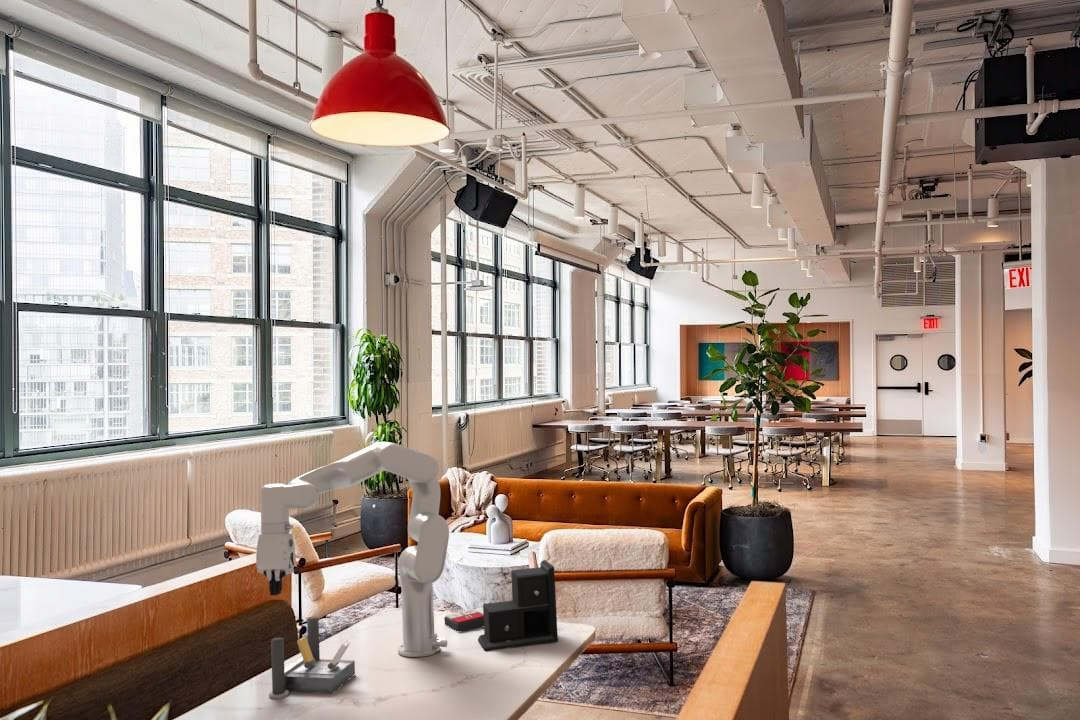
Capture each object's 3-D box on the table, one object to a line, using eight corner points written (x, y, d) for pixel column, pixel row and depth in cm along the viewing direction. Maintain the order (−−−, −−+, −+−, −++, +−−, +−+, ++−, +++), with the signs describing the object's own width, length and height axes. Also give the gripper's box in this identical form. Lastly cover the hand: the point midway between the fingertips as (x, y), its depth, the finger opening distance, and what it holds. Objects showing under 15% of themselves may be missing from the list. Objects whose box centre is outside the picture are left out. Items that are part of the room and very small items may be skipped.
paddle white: (337, 665, 235) (351, 643, 234) (331, 670, 232) (345, 647, 231) (332, 662, 235) (346, 639, 235) (326, 666, 232) (341, 643, 231)
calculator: (443, 614, 286) (483, 604, 294) (444, 627, 286) (484, 617, 294) (457, 622, 276) (498, 611, 284) (458, 635, 276) (499, 624, 284)
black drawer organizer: (484, 651, 256) (481, 573, 257) (477, 641, 267) (475, 566, 267) (558, 643, 262) (555, 566, 263) (549, 633, 273) (546, 559, 273)
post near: (292, 692, 228) (290, 636, 228) (282, 699, 223) (281, 642, 223) (275, 691, 229) (273, 636, 229) (265, 698, 224) (263, 642, 224)
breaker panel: (354, 674, 240) (354, 657, 240) (332, 693, 226) (332, 675, 226) (302, 672, 243) (302, 655, 243) (277, 690, 229) (277, 672, 229)
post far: (326, 666, 247) (324, 615, 248) (318, 672, 243) (316, 620, 243) (310, 666, 248) (308, 615, 249) (302, 672, 244) (300, 620, 244)
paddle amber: (316, 662, 236) (306, 636, 237) (310, 667, 233) (300, 640, 234) (311, 664, 237) (302, 637, 237) (305, 668, 233) (295, 641, 234)
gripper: (306, 526, 240) (306, 592, 240) (258, 525, 243) (258, 590, 243) (292, 531, 233) (293, 598, 232) (243, 530, 236) (244, 596, 236)
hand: (275, 594), depth 238 cm, fingers closed
